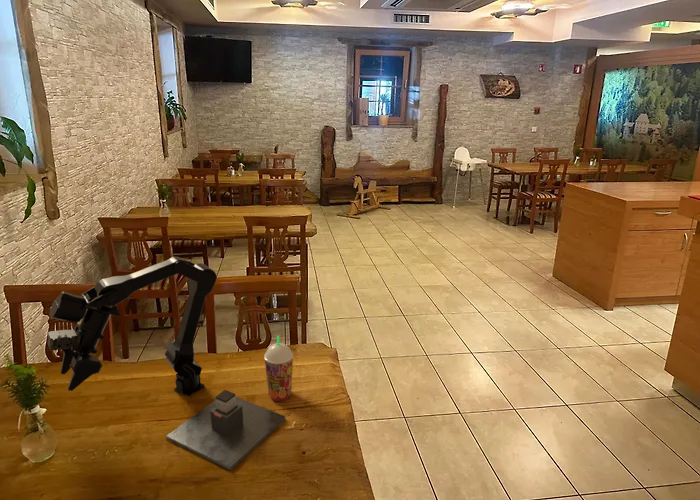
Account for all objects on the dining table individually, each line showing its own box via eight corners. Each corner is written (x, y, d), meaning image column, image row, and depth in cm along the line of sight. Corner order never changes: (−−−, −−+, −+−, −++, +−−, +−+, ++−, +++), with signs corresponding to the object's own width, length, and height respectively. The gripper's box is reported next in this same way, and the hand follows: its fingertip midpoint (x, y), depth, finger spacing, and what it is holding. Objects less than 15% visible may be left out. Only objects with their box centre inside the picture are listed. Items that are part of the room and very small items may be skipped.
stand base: (226, 395, 143) (224, 376, 141) (285, 419, 133) (285, 399, 131) (166, 439, 125) (163, 418, 123) (230, 470, 114) (228, 448, 112)
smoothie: (260, 400, 141) (257, 339, 135) (275, 385, 148) (272, 327, 142) (285, 407, 138) (283, 345, 132) (299, 391, 145) (297, 332, 139)
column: (227, 418, 131) (225, 389, 128) (237, 423, 129) (235, 393, 126) (217, 426, 128) (215, 396, 125) (227, 430, 126) (225, 401, 123)
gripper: (52, 306, 125) (26, 361, 124) (66, 334, 111) (37, 395, 111) (95, 316, 132) (71, 367, 132) (114, 343, 119) (87, 400, 118)
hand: (66, 381), depth 123 cm, fingers open, 9 cm apart
